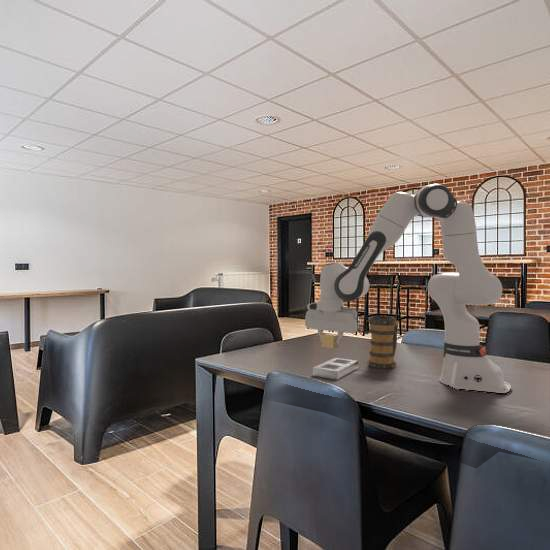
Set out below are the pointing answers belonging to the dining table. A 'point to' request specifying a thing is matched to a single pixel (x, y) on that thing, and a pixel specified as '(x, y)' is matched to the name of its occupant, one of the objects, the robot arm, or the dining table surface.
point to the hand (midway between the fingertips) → (330, 342)
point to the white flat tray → (335, 368)
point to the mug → (383, 341)
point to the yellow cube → (329, 340)
